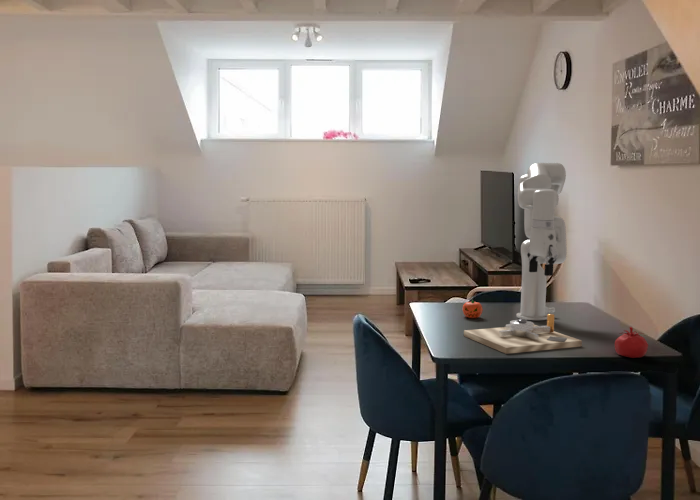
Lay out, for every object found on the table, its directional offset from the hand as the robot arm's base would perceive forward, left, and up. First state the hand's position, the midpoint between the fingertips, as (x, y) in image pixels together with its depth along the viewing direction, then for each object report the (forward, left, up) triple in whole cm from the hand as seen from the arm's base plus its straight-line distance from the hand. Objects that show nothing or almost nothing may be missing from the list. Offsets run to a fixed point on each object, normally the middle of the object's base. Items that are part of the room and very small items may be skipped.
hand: (540, 273), depth 253 cm
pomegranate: (-10, +35, -22) cm, 42 cm away
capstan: (+10, +7, -20) cm, 23 cm away
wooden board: (+12, +7, -22) cm, 26 cm away
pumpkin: (+7, -33, -22) cm, 41 cm away
